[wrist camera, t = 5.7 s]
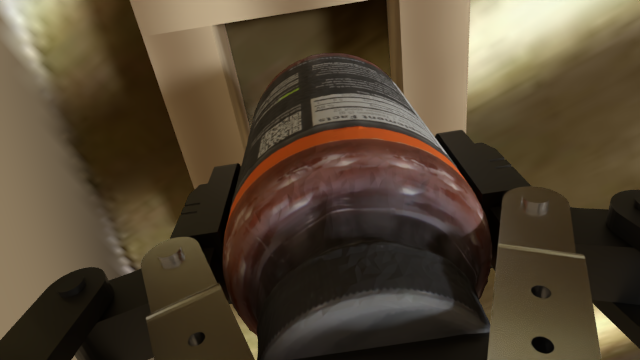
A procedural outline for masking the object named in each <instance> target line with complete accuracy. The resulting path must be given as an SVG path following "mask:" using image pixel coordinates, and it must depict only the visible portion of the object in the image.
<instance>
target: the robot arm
mask: <svg viewBox="0 0 640 360" xmlns="http://www.w3.org/2000/svg"><path fill="white" fill-rule="evenodd" d="M435 138H436V140H437V141H438V142H439V144H440V145H441V146H442V148H443V149H444V150H445V152H446V153H447V155H448V156H449V157H450V159H451V160H452V161H453V163H454V164H455V165H456V167H457V169H458V170H459V172H460V173H461V174H462V176H463V177H464V179H465V180H466V182H467V183H468V184H469V186H470V187H471V188H472V190H473V192H474V193H475V195H476V197H477V199H478V201H479V203H480V204H481V207H482V209H483V211H484V213H485V215H486V218H487V221H488V225H489V229H490V235H491V242H492V259H491V268H494V270H495V282H494V293H493V303H492V314H491V325H490V332H488V333H477V334H463V335H456V336H451V337H445V338H438V339H431V340H424V341H417V342H410V343H403V344H396V345H389V346H382V347H375V348H368V349H362V350H355V351H348V352H341V353H334V354H327V355H320V356H314V357H307V358H300V359H293V360H601V354H600V347H599V341H598V335H597V328H596V322H595V316H594V309H593V304H594V305H595V306H596V307H597V308H598V309H599V310H600V311H601V312H602V313H603V314H604V315H605V316H606V317H607V318H608V319H609V320H611V321H612V322H613V323H614V324H615V325H616V326H617V327H618V328H619V329H620V330H621V331H622V332H623V333H624V334H625V335H626V336H627V337H628V338H629V339H630V340H631V341H632V342H633V343H634V344H635V345H636V346H637V347H638V348H640V190H628V191H623V192H619V193H617V194H615V195H614V196H613V197H612V199H611V202H610V206H609V210H606V209H584V208H572V207H570V205H569V202H568V200H567V199H566V198H565V197H564V196H562V195H561V194H559V193H557V192H555V191H553V190H550V189H546V188H541V187H532V186H531V185H530V184H529V183H528V182H527V181H526V180H525V179H524V178H523V177H522V176H521V175H520V174H519V173H518V172H517V171H516V170H515V169H514V168H513V167H511V164H510V163H509V162H508V161H507V160H504V157H503V156H502V155H501V154H500V153H499V152H498V151H497V150H496V149H495V148H492V147H490V146H488V145H486V144H484V143H476V144H474V143H473V142H472V140H471V139H470V138H469V137H468V136H467V135H466V134H465V132H464V131H463V130H456V131H449V132H442V133H437V134H436V135H435ZM240 169H241V166H240V164H239V163H236V164H229V165H223V166H216V167H214V169H213V171H212V174H211V176H210V179H209V182H208V183H207V184H201V185H199V186H198V187H197V188H196V189H195V190H194V191H193V192H191V193H190V194H189V196H188V199H187V201H186V203H185V207H184V208H183V210H182V212H181V215H180V217H179V219H178V221H177V224H176V226H175V228H174V231H173V233H172V235H171V237H170V239H169V240H166V241H164V242H161V243H160V244H158V245H156V246H155V247H153V248H152V249H151V250H149V251H148V252H147V253H146V254H145V256H144V257H143V259H142V261H141V269H139V270H137V271H134V272H132V273H129V274H126V275H123V276H121V277H118V278H115V279H112V280H108V278H107V277H106V275H105V273H104V271H103V270H102V269H99V268H95V267H89V268H83V269H79V270H76V271H74V272H71V273H69V274H67V275H65V276H63V277H61V278H60V279H58V280H57V281H55V282H54V283H53V284H51V285H50V286H49V287H48V288H47V289H46V290H45V291H44V292H43V293H42V295H41V296H40V297H39V298H38V299H37V300H36V301H35V302H34V303H33V305H32V306H31V307H30V308H29V309H28V310H27V311H26V312H25V313H24V315H23V316H22V317H21V318H20V319H19V320H18V321H17V322H16V323H15V325H14V326H13V327H12V328H11V329H10V330H9V331H8V332H7V333H6V335H5V336H4V337H3V338H2V339H1V340H0V360H71V359H72V358H73V357H74V355H75V357H76V358H77V360H148V359H150V358H153V357H154V360H255V359H254V357H253V355H252V353H251V351H250V348H249V346H248V344H247V342H246V340H245V338H244V335H243V333H242V331H241V329H240V327H239V325H238V323H237V320H236V318H235V316H234V314H233V312H232V310H231V308H230V305H229V304H232V302H231V300H230V297H229V294H228V291H227V288H226V284H225V279H224V275H223V246H224V235H225V230H226V226H227V222H228V218H229V214H230V208H231V205H232V200H233V196H234V193H235V189H236V185H237V181H238V177H239V173H240ZM592 302H593V303H592Z"/></svg>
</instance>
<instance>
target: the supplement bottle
mask: <svg viewBox="0 0 640 360" xmlns="http://www.w3.org/2000/svg"><path fill="white" fill-rule="evenodd" d="M491 259H492V242H491V235H490V229H489V225H488V221H487V218H486V215H485V213H484V211H483V209H482V207H481V204H480V203H479V201H478V199H477V197H476V195H475V193H474V192H473V190H472V188H471V187H470V186H469V184H468V183H467V182H466V180H465V179H464V177H463V176H462V174H461V173H460V172H459V170H458V169H457V167H456V165H455V164H454V163H453V161H452V160H451V159H450V157H449V156H448V155H447V153H446V152H445V150H444V149H443V148H442V146H441V145H440V144H439V142H438V141H437V140H436V138H435V137H434V135H433V134H432V133H431V131H430V130H429V129H428V127H427V126H426V125H425V123H424V122H423V121H422V119H421V118H420V117H419V115H418V114H417V112H416V111H415V110H414V108H413V107H412V106H411V104H410V103H409V101H408V100H407V99H406V97H405V96H404V95H403V93H402V92H401V90H400V89H399V88H398V87H397V85H396V84H395V83H394V82H393V81H392V80H391V78H390V77H389V76H388V75H387V74H386V73H385V72H383V71H382V70H381V69H380V68H379V67H377V66H376V65H374V64H373V63H371V62H369V61H367V60H364V59H362V58H360V57H356V56H353V55H349V54H343V53H323V54H317V55H311V56H309V57H307V58H305V59H302V60H299V61H297V62H295V63H293V64H292V65H289V66H288V67H287V68H286V69H284V70H283V71H282V72H280V73H279V74H278V75H277V76H276V77H275V78H274V79H273V81H272V82H271V83H270V84H269V85H268V87H267V88H266V90H265V92H264V93H263V95H262V97H261V98H260V101H259V103H258V106H257V108H256V110H255V114H254V118H253V122H252V126H251V129H250V133H249V136H248V141H247V146H246V149H245V153H244V157H243V161H242V165H241V169H240V173H239V177H238V181H237V185H236V189H235V193H234V196H233V200H232V205H231V208H230V214H229V218H228V222H227V226H226V230H225V235H224V246H223V275H224V279H225V284H226V288H227V291H228V294H229V297H230V300H231V302H232V304H233V307H234V308H235V310H236V311H237V313H238V315H239V316H240V317H241V318H242V320H243V321H244V323H245V324H246V325H247V327H248V328H249V330H250V331H252V332H253V333H255V334H256V335H257V337H258V357H257V360H293V359H300V358H307V357H314V356H320V355H327V354H334V353H341V352H348V351H355V350H362V349H368V348H375V347H382V346H389V345H396V344H403V343H410V342H417V341H424V340H431V339H438V338H445V337H451V336H456V335H463V334H477V333H488V332H490V323H489V320H488V318H487V317H486V315H485V312H484V310H483V308H482V305H481V304H480V302H479V299H480V298H481V296H482V293H483V291H484V288H485V285H486V284H487V282H488V276H489V273H490V268H491Z"/></svg>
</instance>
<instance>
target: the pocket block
mask: <svg viewBox="0 0 640 360" xmlns="http://www.w3.org/2000/svg"><path fill="white" fill-rule="evenodd" d="M360 1H366V0H130V2H131V5H132V8H133V11H134V14H135V17H136V20H137V23H138V26H139V29H140V31H141V34H142V37H143V40H144V43H145V46H146V49H147V52H148V55H149V58H150V61H151V64H152V67H153V69H154V72H155V75H156V78H157V81H158V84H159V87H160V90H161V93H162V96H163V99H164V102H165V105H166V108H167V110H168V113H169V116H170V119H171V122H172V125H173V128H174V131H175V134H176V137H177V140H178V143H179V146H180V148H181V151H182V154H183V157H184V160H185V163H186V166H187V169H188V172H189V175H190V178H191V181H192V184H193V186H194V189H196V188H197V187H198V186H199V185H201V184H207V183H208V182H209V179H210V176H211V174H212V171H213V169H214V167H216V166H223V165H229V164H236V163H239V164H240V166H241V165H242V161H243V157H244V153H245V149H246V146H247V141H248V136H249V133H250V126H249V122H248V118H247V114H246V110H245V106H244V102H243V98H242V93H241V89H240V85H239V81H238V77H237V73H236V69H235V65H234V61H233V57H232V52H231V48H230V44H229V40H228V36H227V32H226V28H225V24H224V23H230V22H236V21H243V20H249V19H255V18H261V17H267V16H274V15H280V14H286V13H292V12H298V11H304V10H311V9H317V8H323V7H329V6H335V5H342V4H348V3H354V2H360ZM386 3H387V19H388V36H389V53H390V69H391V80H392V81H393V82H394V83H395V84H396V85H397V87H398V88H399V89H400V90H401V92H402V93H403V95H404V96H405V97H406V99H407V100H408V101H409V103H410V104H411V106H412V107H413V108H414V110H415V111H416V112H417V114H418V115H419V117H420V118H421V119H422V121H423V122H424V123H425V125H426V126H427V127H428V129H429V130H430V131H431V133H432V134H433V135H434V137H435V135H436V134H437V133H442V132H449V131H456V130H463V131H464V132H465V134H466V115H467V84H468V53H469V22H470V0H386Z"/></svg>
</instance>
